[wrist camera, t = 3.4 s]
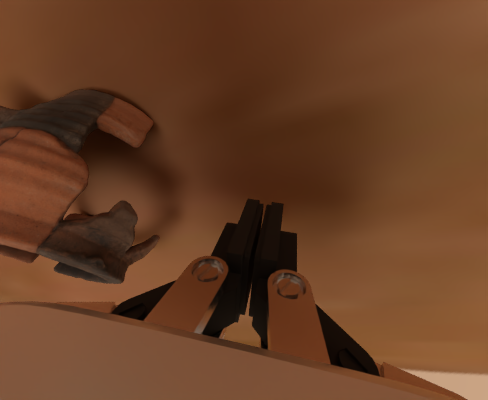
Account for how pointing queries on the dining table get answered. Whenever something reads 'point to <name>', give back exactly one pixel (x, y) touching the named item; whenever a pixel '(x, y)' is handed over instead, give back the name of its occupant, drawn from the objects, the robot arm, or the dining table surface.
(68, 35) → the dining table surface
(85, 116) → the pottery mug
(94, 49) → the dining table surface
